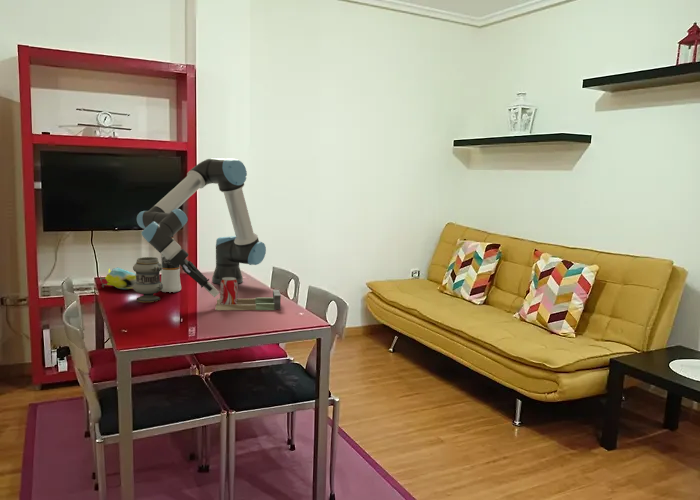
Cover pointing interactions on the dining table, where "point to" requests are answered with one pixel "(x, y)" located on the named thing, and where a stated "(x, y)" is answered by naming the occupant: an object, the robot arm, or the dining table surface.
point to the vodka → (170, 276)
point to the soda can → (228, 290)
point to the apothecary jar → (147, 278)
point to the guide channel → (253, 303)
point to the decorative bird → (120, 278)
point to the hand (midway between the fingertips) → (217, 294)
